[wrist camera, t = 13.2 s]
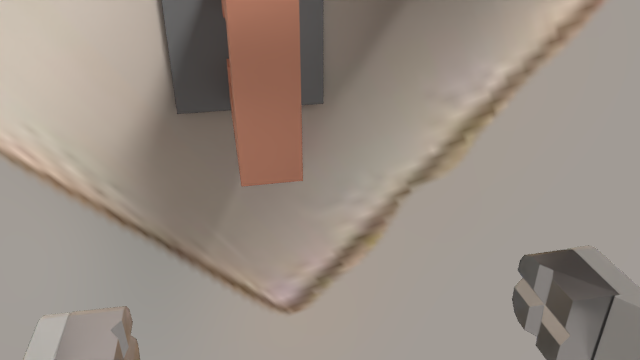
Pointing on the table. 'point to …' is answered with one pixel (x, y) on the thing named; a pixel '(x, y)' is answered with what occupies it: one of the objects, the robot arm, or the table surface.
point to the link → (265, 88)
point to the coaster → (212, 51)
